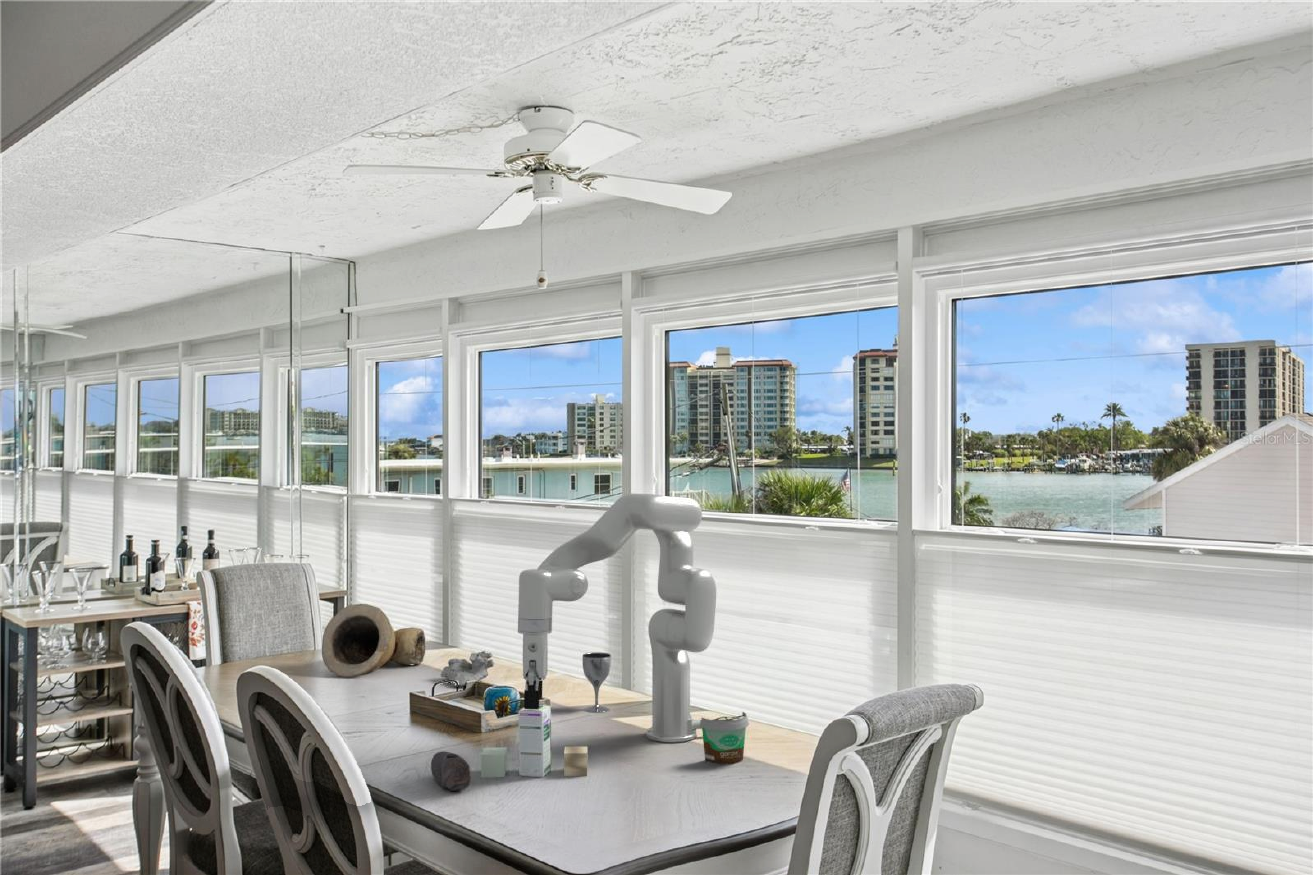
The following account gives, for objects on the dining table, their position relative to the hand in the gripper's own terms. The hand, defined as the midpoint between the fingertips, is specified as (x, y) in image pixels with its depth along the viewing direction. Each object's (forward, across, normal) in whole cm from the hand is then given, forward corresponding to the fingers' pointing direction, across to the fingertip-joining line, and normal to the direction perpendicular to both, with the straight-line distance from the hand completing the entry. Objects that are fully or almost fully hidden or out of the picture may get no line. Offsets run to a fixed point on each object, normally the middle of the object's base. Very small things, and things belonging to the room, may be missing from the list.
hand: (533, 703), depth 213 cm
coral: (+15, +90, +27) cm, 95 cm away
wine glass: (+14, +55, -14) cm, 58 cm away
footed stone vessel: (+15, +112, +61) cm, 128 cm away
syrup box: (+16, +1, -1) cm, 16 cm away
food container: (+15, +7, -45) cm, 48 cm away
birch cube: (+15, +1, -10) cm, 18 cm away
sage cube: (+16, +1, +8) cm, 18 cm away
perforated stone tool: (+16, -6, +17) cm, 24 cm away
